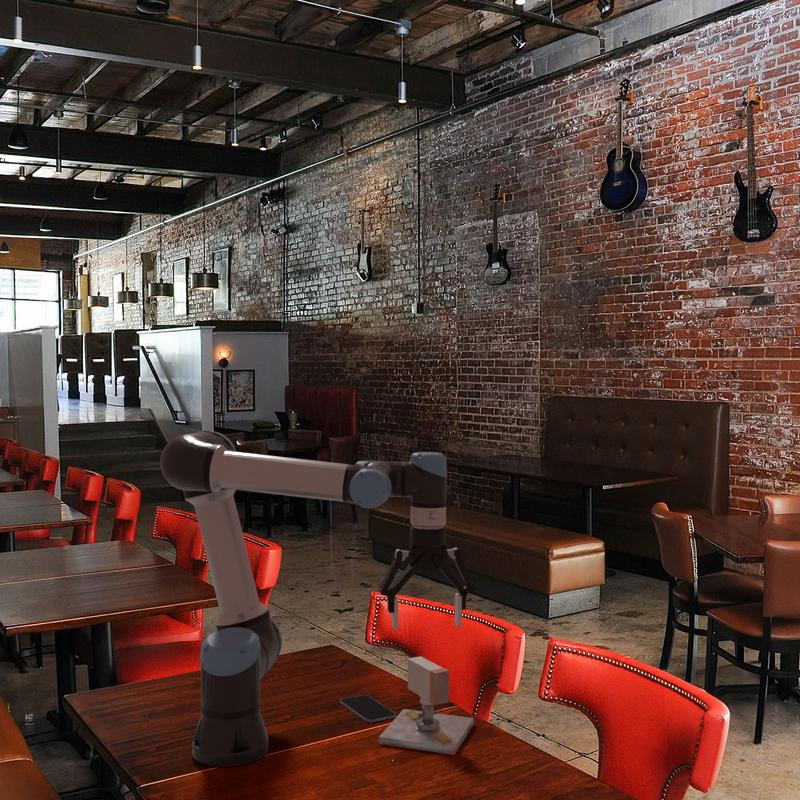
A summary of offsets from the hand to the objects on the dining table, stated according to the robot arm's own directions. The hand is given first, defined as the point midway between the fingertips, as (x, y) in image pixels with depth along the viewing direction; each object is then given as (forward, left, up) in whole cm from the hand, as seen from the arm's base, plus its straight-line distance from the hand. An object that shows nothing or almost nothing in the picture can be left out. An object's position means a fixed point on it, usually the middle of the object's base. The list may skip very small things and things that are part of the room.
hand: (426, 626), depth 185 cm
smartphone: (+9, +17, -23) cm, 30 cm away
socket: (0, 0, -23) cm, 23 cm away
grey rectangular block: (0, 0, -16) cm, 16 cm away
